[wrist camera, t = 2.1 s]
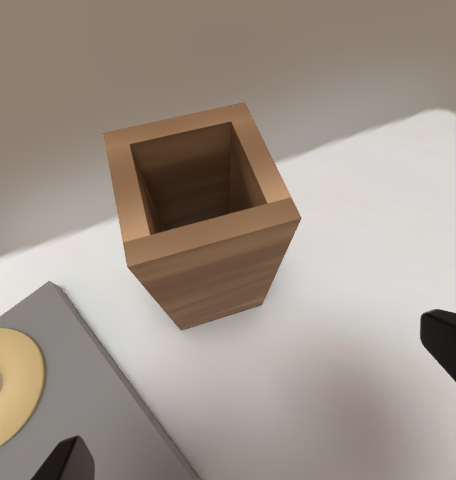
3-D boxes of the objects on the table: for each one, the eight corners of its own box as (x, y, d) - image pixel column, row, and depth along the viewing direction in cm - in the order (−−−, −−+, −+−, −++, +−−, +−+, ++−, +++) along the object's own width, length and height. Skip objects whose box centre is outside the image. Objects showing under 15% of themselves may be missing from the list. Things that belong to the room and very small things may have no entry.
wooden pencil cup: (261, 304, 21) (301, 217, 10) (181, 330, 21) (127, 266, 9) (235, 234, 24) (244, 102, 13) (163, 254, 23) (103, 133, 12)
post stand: (203, 483, 17) (194, 522, 12) (2, 716, 13) (-120, 899, 9) (60, 287, 22) (15, 261, 17) (-115, 416, 18) (-232, 428, 14)
